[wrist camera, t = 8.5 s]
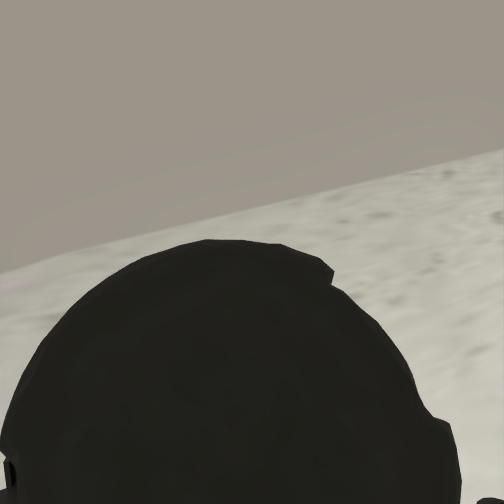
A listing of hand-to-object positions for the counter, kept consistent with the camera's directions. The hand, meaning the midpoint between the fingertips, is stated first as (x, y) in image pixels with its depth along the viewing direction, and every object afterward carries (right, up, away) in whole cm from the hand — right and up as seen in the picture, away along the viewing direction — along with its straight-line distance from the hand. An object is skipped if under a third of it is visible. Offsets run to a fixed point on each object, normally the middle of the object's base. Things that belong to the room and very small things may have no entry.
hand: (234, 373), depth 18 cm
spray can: (0, -7, +6) cm, 9 cm away
